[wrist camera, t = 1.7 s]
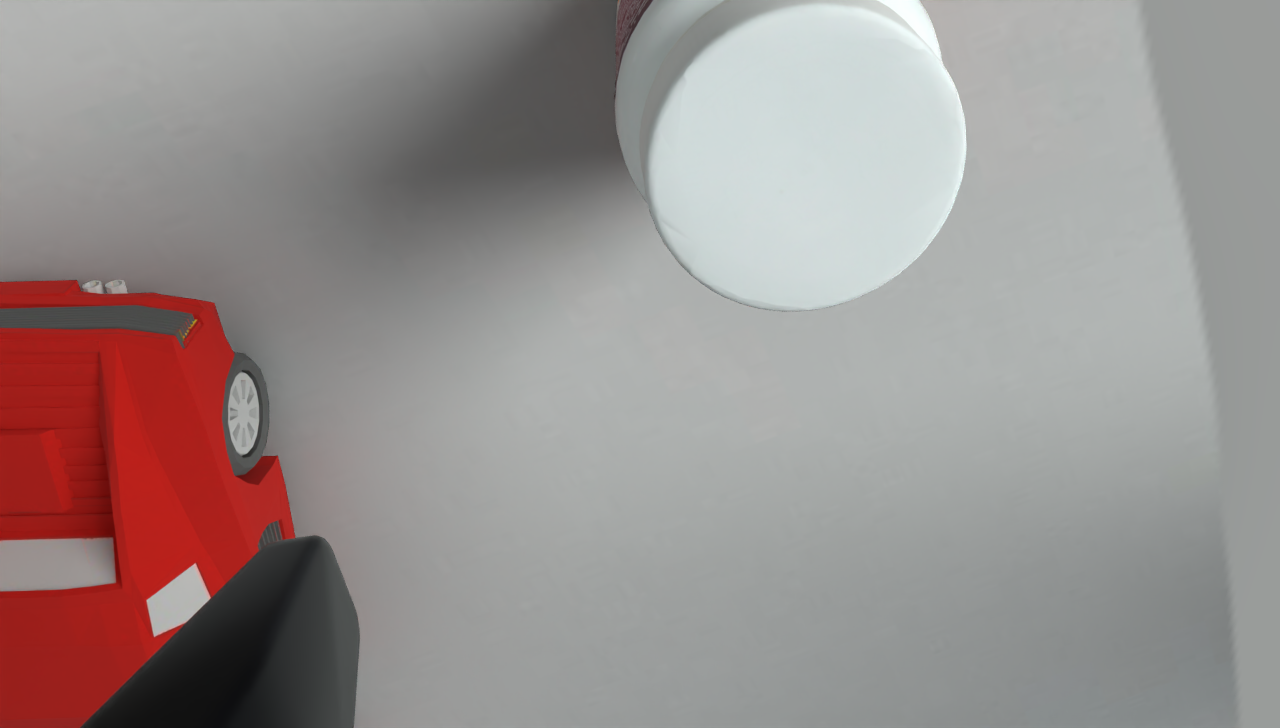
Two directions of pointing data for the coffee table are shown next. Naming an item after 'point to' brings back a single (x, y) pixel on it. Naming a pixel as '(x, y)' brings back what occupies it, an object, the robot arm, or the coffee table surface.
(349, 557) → the coffee table surface
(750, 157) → the pill bottle
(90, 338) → the toy car
